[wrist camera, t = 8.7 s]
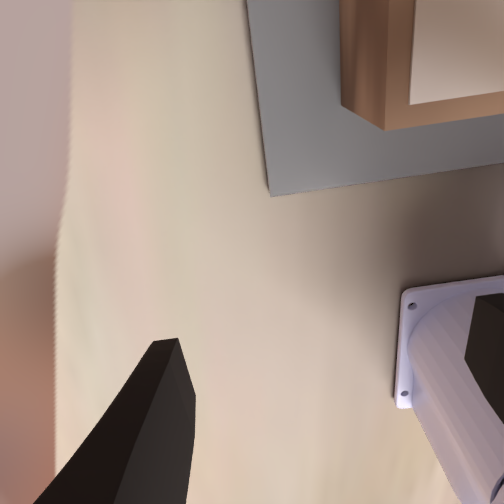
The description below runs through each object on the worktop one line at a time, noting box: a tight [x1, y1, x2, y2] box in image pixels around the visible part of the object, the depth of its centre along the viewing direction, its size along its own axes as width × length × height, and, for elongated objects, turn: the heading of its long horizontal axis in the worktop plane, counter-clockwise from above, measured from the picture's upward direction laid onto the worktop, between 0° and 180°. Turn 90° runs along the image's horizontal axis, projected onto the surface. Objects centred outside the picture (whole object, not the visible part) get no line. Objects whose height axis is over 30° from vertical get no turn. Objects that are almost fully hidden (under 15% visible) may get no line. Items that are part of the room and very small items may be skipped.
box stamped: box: [339, 0, 504, 131], centre depth 12 cm, size 4×4×5 cm
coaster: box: [246, 0, 504, 197], centre depth 15 cm, size 11×11×1 cm
